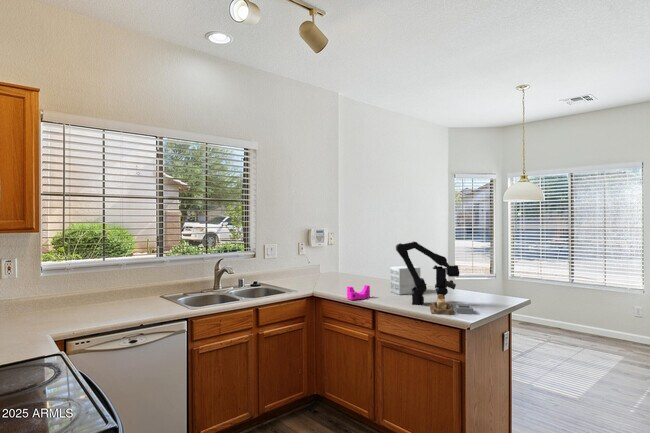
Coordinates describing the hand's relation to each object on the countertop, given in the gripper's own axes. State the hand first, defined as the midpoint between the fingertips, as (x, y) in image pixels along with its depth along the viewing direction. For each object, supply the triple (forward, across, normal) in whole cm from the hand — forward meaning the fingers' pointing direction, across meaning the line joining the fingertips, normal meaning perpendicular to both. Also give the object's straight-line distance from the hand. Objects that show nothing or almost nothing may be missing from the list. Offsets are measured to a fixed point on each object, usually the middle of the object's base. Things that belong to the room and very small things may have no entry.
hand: (441, 302), depth 236 cm
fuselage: (0, -17, +1) cm, 17 cm away
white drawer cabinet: (+1, +34, +22) cm, 41 cm away
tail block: (+1, 0, 0) cm, 1 cm away
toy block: (+2, +9, +51) cm, 52 cm away
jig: (+1, -16, +1) cm, 17 cm away
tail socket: (+1, -18, -11) cm, 22 cm away
